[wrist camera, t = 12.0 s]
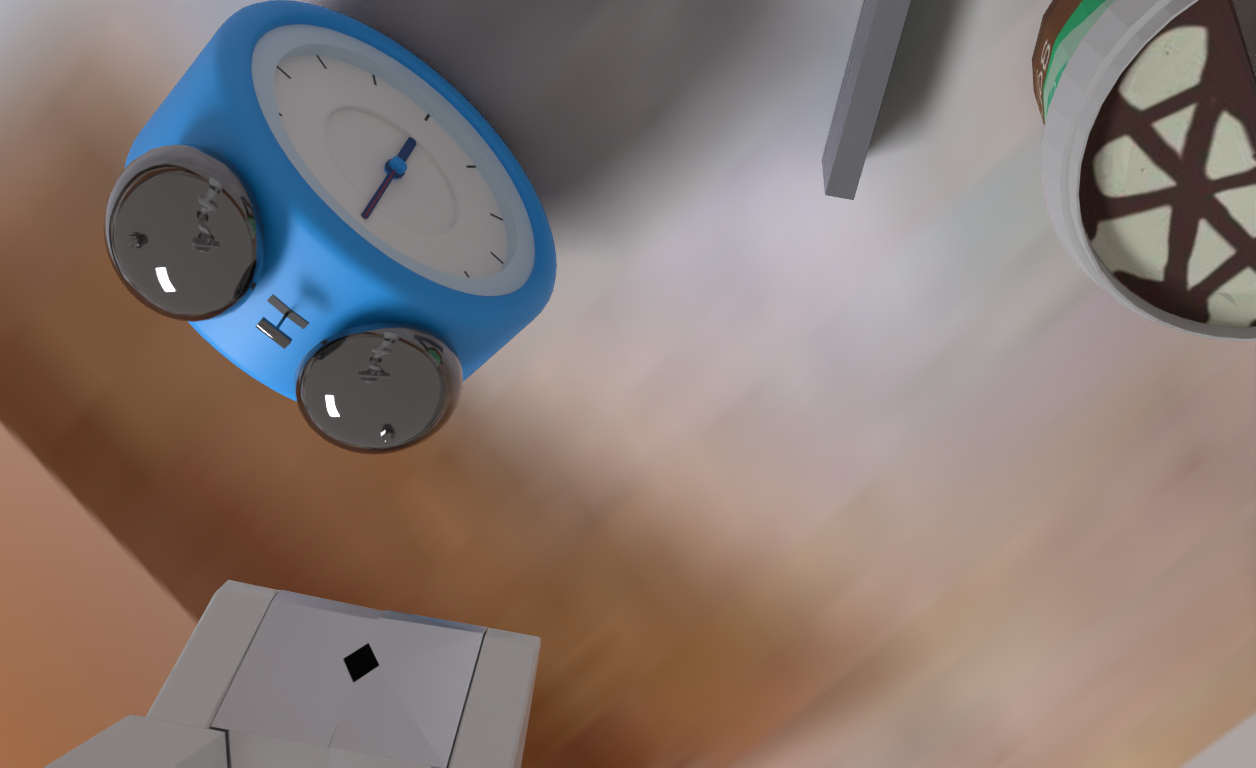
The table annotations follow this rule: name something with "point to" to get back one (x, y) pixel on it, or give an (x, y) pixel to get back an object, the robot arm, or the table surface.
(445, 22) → the table surface
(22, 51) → the table surface
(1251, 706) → the table surface
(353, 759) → the robot arm
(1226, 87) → the food container
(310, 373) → the alarm clock
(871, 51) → the metal dock
